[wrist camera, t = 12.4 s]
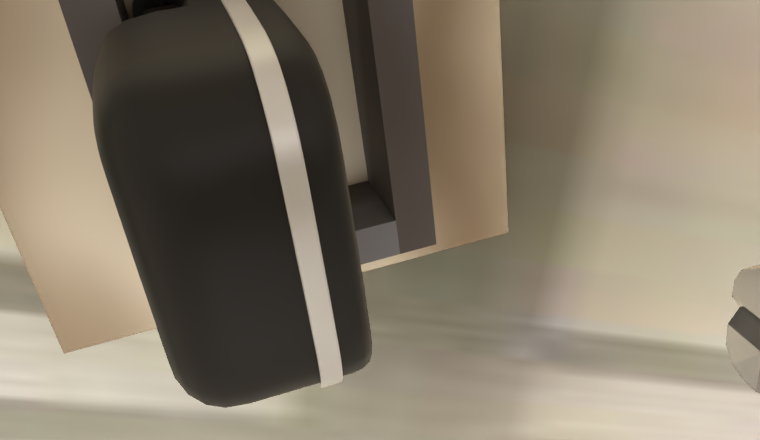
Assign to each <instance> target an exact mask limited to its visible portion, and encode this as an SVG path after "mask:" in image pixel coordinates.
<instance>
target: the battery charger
mask: <svg viewBox="0 0 760 440" xmlns="http://www.w3.org/2000/svg"><path fill="white" fill-rule="evenodd" d="M132 15H133V18H131V19H128V20H126V21H124V22H123V23H121V24H120V25H118V26H117V27H115V28H114V29H112V30H111V31H109V32H108V34H107V36H106V38H105V40H104V42H103V44H102V46H101V48H100V52H99V54H98V57H97V60H96V64H95V71H94V78H93V92H92V105H93V124H94V132H95V137H96V142H97V147H98V152H99V156H100V159H101V163H102V166H103V169H104V172H105V175H106V179H107V182H108V185H109V188H110V191H111V193H112V196H113V199H114V202H115V205H116V208H117V211H118V214H119V217H120V220H121V223H122V226H123V229H124V232H125V235H126V238H127V241H128V244H129V247H130V250H131V253H132V256H133V259H134V262H135V265H136V268H137V271H138V274H139V277H140V280H141V282H142V285H143V288H144V291H145V294H146V297H147V300H148V303H149V306H150V309H151V312H152V315H153V318H154V320H155V323H156V326H157V329H158V332H159V335H160V338H161V341H162V344H163V347H164V350H165V353H166V355H167V358H168V361H169V364H170V366H171V369H172V371H173V374H174V376H175V379H176V380H177V381H178V382H179V383H180V385H181V386H182V387H183V388H184V390H185V391H186V392H187V393H188V394H189V395H190V396H192V397H194V398H196V399H197V400H199V401H201V402H203V403H204V404H206V405H212V406H219V407H225V408H226V407H232V406H237V405H243V404H248V403H252V402H256V401H259V400H263V399H266V398H269V397H273V396H276V395H280V394H283V393H286V392H290V391H293V390H296V389H300V388H303V387H307V386H310V385H313V384H317V383H318V384H319V386H320V387H321V388H324V387H327V386H330V385H334V384H337V383H341V382H342V380H343V376H344V375H347V374H351V373H353V372H356V371H358V370H360V369H362V368H363V367H364V366H365V365H366V364H367V363H368V362H369V361H370V358H371V354H372V340H371V332H370V324H369V317H368V310H367V304H366V297H365V290H364V284H363V277H362V270H361V263H360V257H359V250H358V244H357V238H356V231H355V225H354V219H353V213H352V207H351V200H350V194H349V188H348V182H347V176H346V169H345V163H344V157H343V152H342V146H341V141H340V135H339V130H338V125H337V120H336V116H335V112H334V108H333V104H332V100H331V96H330V93H329V89H328V86H327V83H326V80H325V77H324V73H323V71H322V69H321V66H320V64H319V62H318V59H317V57H316V54H315V53H314V51H313V49H312V48H311V46H310V44H309V43H308V41H307V40H306V39H305V37H304V36H303V35H302V33H301V32H300V31H299V30H298V28H297V27H296V26H295V25H294V23H293V22H292V21H291V20H290V18H289V17H288V16H287V15H286V14H285V12H284V11H283V10H282V9H281V8H280V7H279V6H278V4H277V3H276V2H275V1H274V0H133V2H132Z"/></svg>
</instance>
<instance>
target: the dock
mask: <svg viewBox="0 0 760 440" xmlns="http://www.w3.org/2000/svg"><path fill="white" fill-rule="evenodd" d="M274 1H275V2H276V3H277V4H278V6H279V7H280V8H281V9H282V10H283V11H284V12H285V14H286V15H287V16H288V17H289V18H290V20H291V21H292V22H293V23H294V25H295V26H296V27H297V28H298V30H299V31H300V32H301V33H302V35H303V36H304V37H305V39H306V40H307V41H308V43H309V44H310V46H311V48H312V49H313V51H314V53H315V54H316V57H317V59H318V62H319V64H320V66H321V69H322V71H323V73H324V77H325V80H326V83H327V86H328V89H329V93H330V96H331V100H332V104H333V108H334V112H335V116H336V120H337V125H338V130H339V135H340V141H341V146H342V152H343V157H344V163H345V169H346V176H347V182H348V188H349V194H350V200H351V207H352V213H353V219H354V225H355V231H356V238H357V244H358V250H359V257H360V263H361V270H362V272H365V271H369V270H373V269H376V268H380V267H384V266H387V265H391V264H395V263H398V262H402V261H406V260H409V259H413V258H417V257H420V256H424V255H428V254H431V253H435V252H439V251H442V250H446V249H450V248H453V247H457V246H461V245H464V244H468V243H472V242H475V241H479V240H483V239H487V238H490V237H494V236H498V235H501V234H505V233H508V211H507V186H506V161H505V136H504V110H503V85H502V60H501V35H500V10H499V0H274ZM132 2H133V0H0V208H1V210H2V213H3V215H4V217H5V220H6V222H7V224H8V226H9V229H10V231H11V233H12V236H13V238H14V240H15V242H16V245H17V247H18V249H19V252H20V254H21V256H22V258H23V261H24V263H25V265H26V268H27V270H28V272H29V275H30V277H31V279H32V281H33V284H34V286H35V288H36V291H37V293H38V295H39V297H40V300H41V302H42V304H43V307H44V309H45V311H46V314H47V316H48V318H49V320H50V323H51V325H52V327H53V330H54V332H55V334H56V336H57V339H58V341H59V343H60V346H61V348H62V350H63V352H64V353H67V352H71V351H75V350H78V349H82V348H86V347H89V346H93V345H97V344H101V343H104V342H108V341H112V340H115V339H119V338H123V337H126V336H130V335H134V334H137V333H141V332H145V331H148V330H152V329H156V328H157V326H156V323H155V320H154V318H153V315H152V312H151V309H150V306H149V303H148V300H147V297H146V294H145V291H144V288H143V285H142V282H141V280H140V277H139V274H138V271H137V268H136V265H135V262H134V259H133V256H132V253H131V250H130V247H129V244H128V241H127V238H126V235H125V232H124V229H123V226H122V223H121V220H120V217H119V214H118V211H117V208H116V205H115V202H114V199H113V196H112V193H111V191H110V188H109V185H108V182H107V179H106V175H105V172H104V169H103V166H102V163H101V159H100V156H99V152H98V147H97V142H96V137H95V132H94V124H93V105H92V92H93V78H94V71H95V64H96V60H97V57H98V54H99V52H100V48H101V46H102V44H103V42H104V40H105V38H106V36H107V34H108V32H109V31H111V30H112V29H114V28H115V27H117V26H118V25H120V24H121V23H123V22H124V21H126V20H128V19H131V18H133V15H132Z"/></svg>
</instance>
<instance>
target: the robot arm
mask: <svg viewBox="0 0 760 440" xmlns="http://www.w3.org/2000/svg"><path fill="white" fill-rule="evenodd" d="M732 297H733V299H734V300H735V301H736V302H737V304H738V305H739V306H740V308H739V309H738V311H737V312H736V313H735V315H734V316H733V318H732V319H731V320H730V322H729V323H728V328H727V338H726V346H727V349H728V352H729V356H730V359H731V362H732V365H733V366H734V368H735V369H736V370H737V372H738V373H739V375H740V376H741V378H742V379H743V380H744V381H745V382H746V383H747V384H748V385H749V386H750V387H751V388H753V389H754V390H755V391H756V392H758V393H760V265H756V266H753V267H750V268H746V269H743V270H741V272H740V273H739V275H738V276H737V278H736V279H735V281H734V287H733V293H732Z"/></svg>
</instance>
